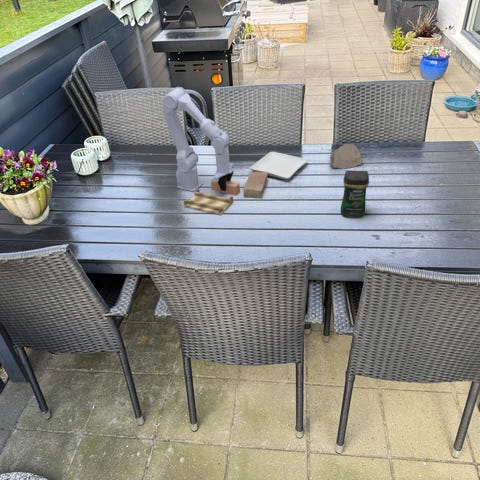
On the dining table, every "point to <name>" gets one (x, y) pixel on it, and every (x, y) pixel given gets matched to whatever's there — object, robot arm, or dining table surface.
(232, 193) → the clay strip
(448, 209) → the dining table surface
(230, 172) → the robot arm
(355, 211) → the coffee jar
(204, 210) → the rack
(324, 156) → the dining table surface
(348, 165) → the pumice stone
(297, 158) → the salad plate
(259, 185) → the brick
